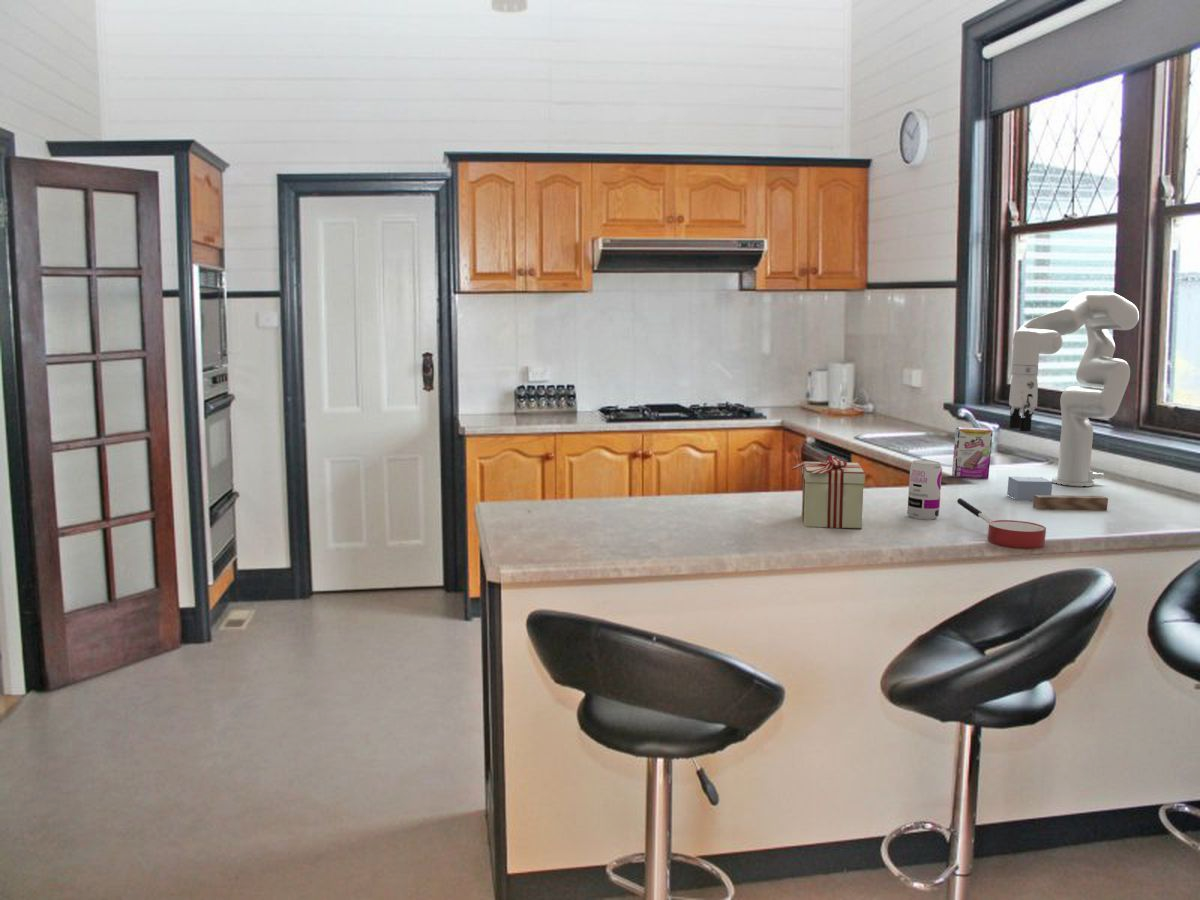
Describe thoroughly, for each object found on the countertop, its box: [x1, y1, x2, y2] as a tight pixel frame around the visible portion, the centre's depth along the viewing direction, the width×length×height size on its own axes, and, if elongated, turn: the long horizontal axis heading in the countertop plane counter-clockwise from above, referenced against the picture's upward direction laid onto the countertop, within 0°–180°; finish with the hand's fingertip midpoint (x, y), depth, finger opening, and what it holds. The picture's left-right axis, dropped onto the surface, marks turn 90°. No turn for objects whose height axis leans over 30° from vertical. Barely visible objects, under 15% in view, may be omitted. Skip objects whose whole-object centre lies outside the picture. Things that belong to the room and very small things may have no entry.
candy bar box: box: [951, 426, 994, 480], centre depth 362 cm, size 11×5×16 cm, turn 84°
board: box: [1032, 494, 1109, 511], centre depth 312 cm, size 20×4×4 cm, turn 93°
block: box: [1006, 476, 1053, 502], centre depth 327 cm, size 10×8×6 cm
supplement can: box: [906, 459, 943, 521], centre depth 294 cm, size 8×8×15 cm
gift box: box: [790, 454, 866, 530], centre depth 283 cm, size 17×18×17 cm
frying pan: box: [957, 497, 1047, 550], centre depth 275 cm, size 32×13×6 cm, turn 19°
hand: (1019, 429), depth 334 cm, fingers open, 6 cm apart
